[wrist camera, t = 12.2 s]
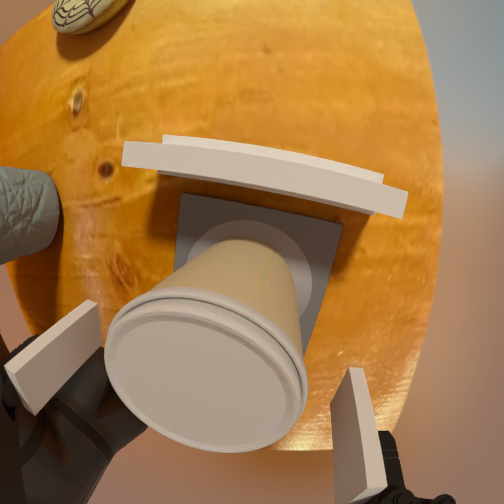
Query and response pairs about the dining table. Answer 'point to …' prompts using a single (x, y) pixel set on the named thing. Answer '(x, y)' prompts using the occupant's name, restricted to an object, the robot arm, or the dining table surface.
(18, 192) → the grey cup
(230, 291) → the coffee cup
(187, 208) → the resting mat
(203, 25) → the dining table surface
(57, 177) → the dining table surface
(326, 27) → the dining table surface
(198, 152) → the low wall
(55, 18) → the decorated donut
